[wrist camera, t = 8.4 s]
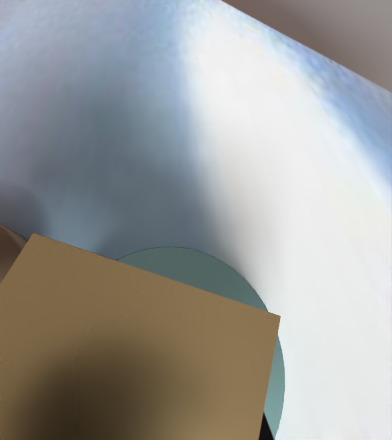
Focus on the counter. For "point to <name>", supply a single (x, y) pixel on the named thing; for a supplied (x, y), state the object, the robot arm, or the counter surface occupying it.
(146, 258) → the stand
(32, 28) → the counter surface
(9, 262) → the stand
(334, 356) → the counter surface
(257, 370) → the block
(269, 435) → the robot arm
